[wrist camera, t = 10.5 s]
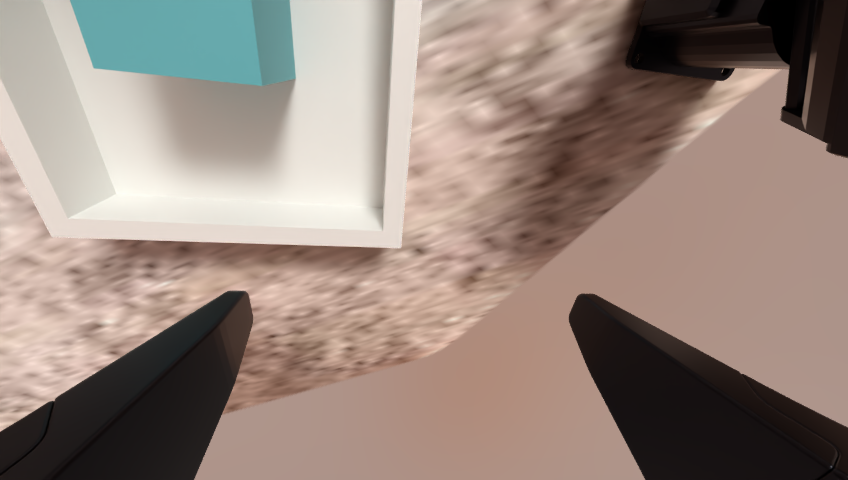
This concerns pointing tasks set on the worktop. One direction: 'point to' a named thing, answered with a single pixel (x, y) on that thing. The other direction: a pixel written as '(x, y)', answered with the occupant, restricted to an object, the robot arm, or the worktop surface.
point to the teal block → (191, 38)
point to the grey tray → (216, 133)
